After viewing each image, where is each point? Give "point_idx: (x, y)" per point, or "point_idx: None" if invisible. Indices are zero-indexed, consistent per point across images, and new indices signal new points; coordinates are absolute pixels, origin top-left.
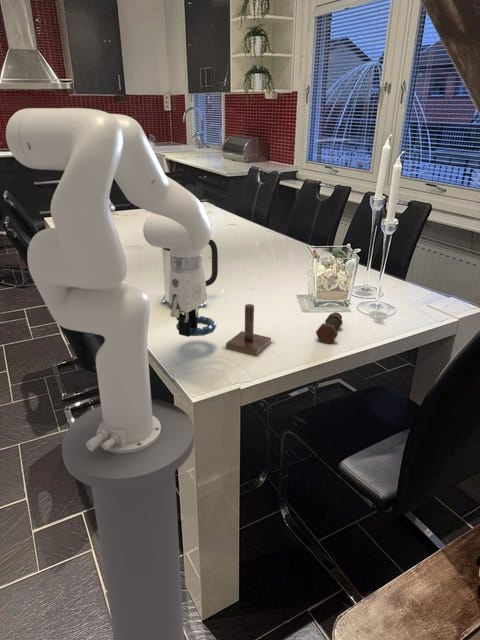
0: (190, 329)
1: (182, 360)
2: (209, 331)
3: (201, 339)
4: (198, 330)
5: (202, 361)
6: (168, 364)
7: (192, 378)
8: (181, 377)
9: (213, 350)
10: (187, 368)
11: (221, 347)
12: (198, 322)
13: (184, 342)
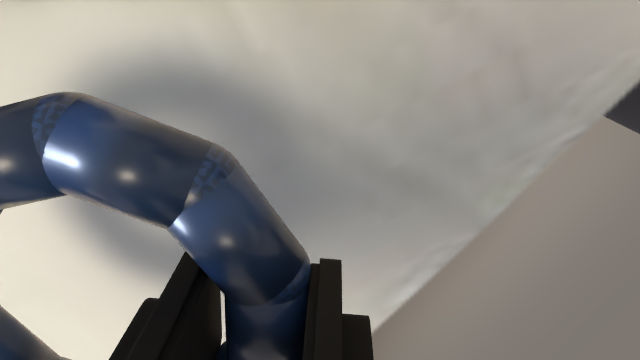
0: (285, 307)
1: (366, 191)
2: (140, 118)
3: (49, 221)
4: (247, 227)
5: (324, 66)
6: (443, 237)
7: (586, 9)
8: (586, 88)
9: (133, 73)
10: (456, 112)
11: (53, 38)
12: (7, 322)
13: (151, 286)
